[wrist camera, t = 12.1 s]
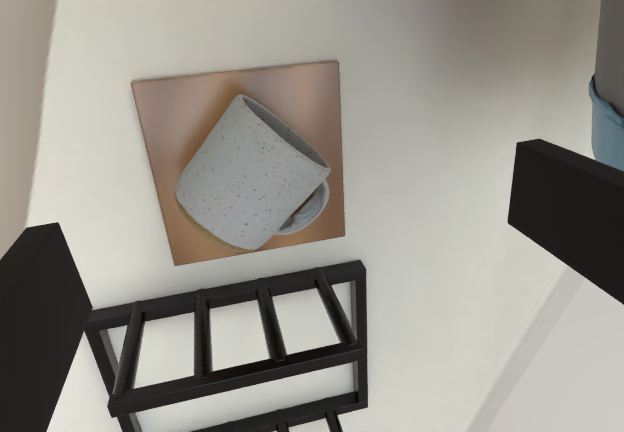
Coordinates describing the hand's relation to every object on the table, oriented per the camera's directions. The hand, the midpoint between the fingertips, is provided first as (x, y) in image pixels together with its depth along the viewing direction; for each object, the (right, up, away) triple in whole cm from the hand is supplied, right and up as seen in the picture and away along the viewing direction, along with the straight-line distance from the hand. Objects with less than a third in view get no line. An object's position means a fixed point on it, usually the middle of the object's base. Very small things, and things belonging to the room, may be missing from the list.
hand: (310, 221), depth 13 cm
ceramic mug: (-4, +4, +20) cm, 21 cm away
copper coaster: (-5, +4, +20) cm, 21 cm away
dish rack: (-6, -13, +28) cm, 31 cm away
